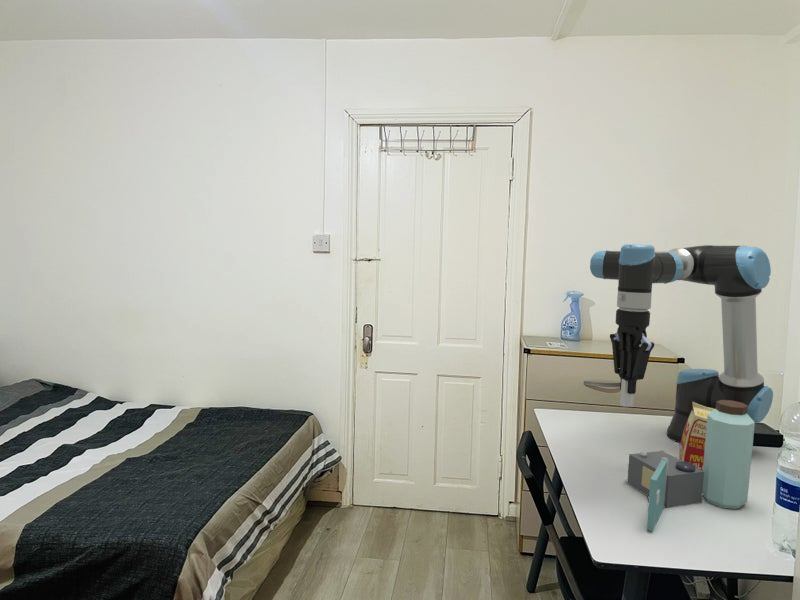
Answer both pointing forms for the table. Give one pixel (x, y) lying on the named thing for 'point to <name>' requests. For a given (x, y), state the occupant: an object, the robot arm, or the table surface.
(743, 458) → the water bottle
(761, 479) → the table surface
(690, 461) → the milk carton
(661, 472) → the side door
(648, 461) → the camera body
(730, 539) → the table surface
